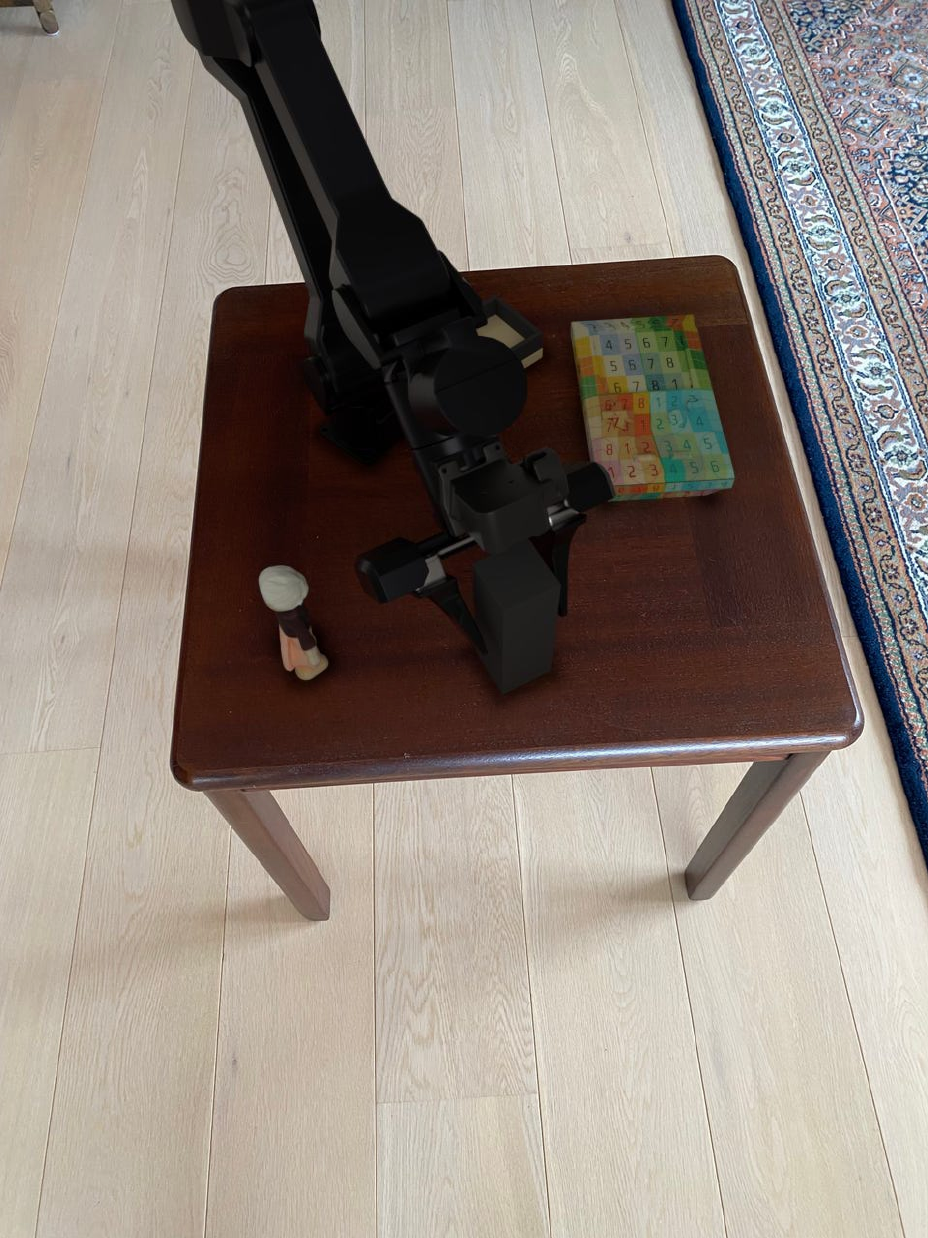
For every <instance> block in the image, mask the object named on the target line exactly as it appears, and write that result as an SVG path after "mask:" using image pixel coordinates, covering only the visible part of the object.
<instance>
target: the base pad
mask: <svg viewBox="0 0 928 1238" xmlns="http://www.w3.org/2000/svg"><path fill="white" fill-rule="evenodd" d="M482 304H483V312H484V313H485V315H486V317H487V320H488V324H487V325H486V326H483V327H481V328H478V329H476V330H477V333H478V336H486V337H491V338H494V339H496V340H498V341H500V342H503V343H504V344H505V345H506V346H508V347H509V348H510V349H511V350H512V351H513V352H514V353H515V355H516V356H517V357H518V359H520V360H521V361H522V364H523V366H524V369H526V368H528V367H529V366H531V365H533V364H534V363H535V362H537V361H539V360H541V359H542V358H543V352H544V351H543V350H544V348H543V340H544V332H543V331H541V330H540V329H539V328H538V327H537V326H535V325H534V324H533V323H532V322H531V321H529V319H527V318H526V317H525V316H523V315H522V314H521V313H520V312H518V311H517V310H516V309H515V308H514V307H512V306H511V305H510V304H509V303H508V302H507V301H505V300H504V299H503V298H501V297H500V296H499V295H497V294H494V295H492V296H490V297H489V298H487V299H485V300H484V301H482Z"/></svg>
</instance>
